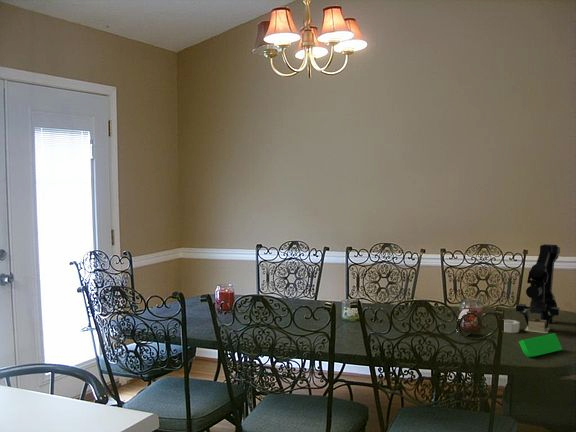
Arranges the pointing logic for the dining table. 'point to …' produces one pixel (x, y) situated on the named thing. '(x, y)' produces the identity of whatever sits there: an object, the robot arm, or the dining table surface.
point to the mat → (537, 331)
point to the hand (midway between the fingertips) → (537, 327)
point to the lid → (537, 325)
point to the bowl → (511, 326)
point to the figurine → (463, 313)
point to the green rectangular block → (540, 345)
